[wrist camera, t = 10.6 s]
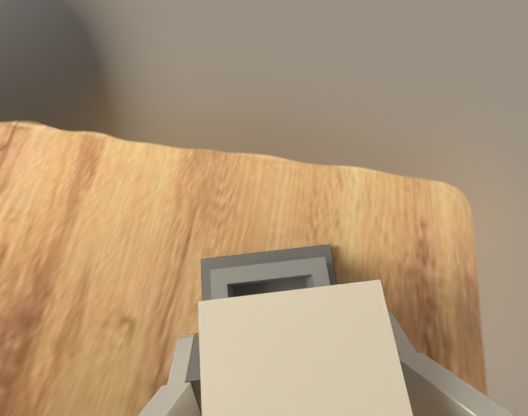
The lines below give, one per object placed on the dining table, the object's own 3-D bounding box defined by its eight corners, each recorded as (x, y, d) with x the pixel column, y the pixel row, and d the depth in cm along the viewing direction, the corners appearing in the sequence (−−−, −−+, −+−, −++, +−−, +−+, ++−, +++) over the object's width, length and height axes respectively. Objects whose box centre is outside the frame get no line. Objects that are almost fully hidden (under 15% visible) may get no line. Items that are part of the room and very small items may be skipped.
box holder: (209, 407, 23) (194, 437, 18) (203, 260, 26) (189, 251, 21) (353, 388, 23) (377, 412, 18) (326, 246, 27) (340, 234, 22)
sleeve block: (247, 381, 14) (206, 549, 5) (240, 300, 15) (197, 301, 6) (323, 372, 14) (436, 515, 5) (310, 291, 16) (380, 279, 6)
